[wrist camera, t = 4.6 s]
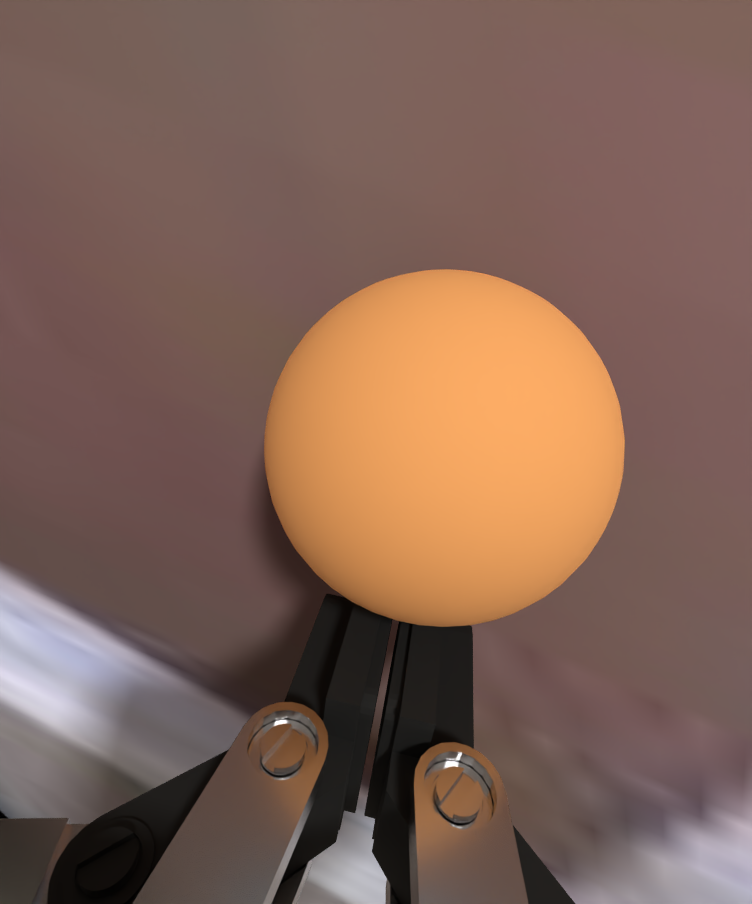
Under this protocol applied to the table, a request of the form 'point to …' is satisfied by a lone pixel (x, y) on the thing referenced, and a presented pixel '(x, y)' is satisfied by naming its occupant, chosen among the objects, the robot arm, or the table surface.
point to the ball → (444, 448)
